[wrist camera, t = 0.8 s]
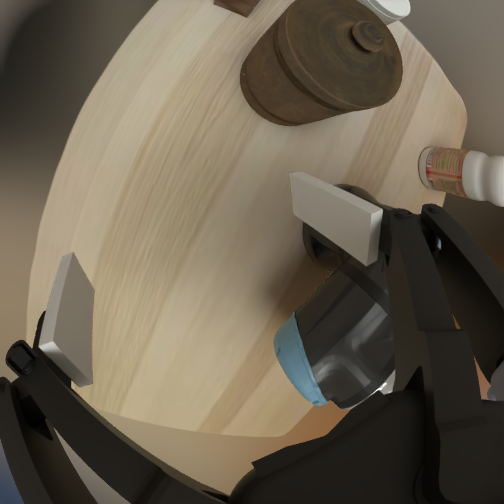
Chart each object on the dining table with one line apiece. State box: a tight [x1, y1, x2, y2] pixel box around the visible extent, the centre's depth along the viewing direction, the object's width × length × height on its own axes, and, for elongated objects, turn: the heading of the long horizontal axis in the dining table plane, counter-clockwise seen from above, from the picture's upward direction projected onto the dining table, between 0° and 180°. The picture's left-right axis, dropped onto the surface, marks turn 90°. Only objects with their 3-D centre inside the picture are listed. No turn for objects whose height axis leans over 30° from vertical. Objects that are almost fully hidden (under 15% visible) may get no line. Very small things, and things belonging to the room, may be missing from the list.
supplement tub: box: [357, 0, 410, 25], centre depth 26 cm, size 10×10×15 cm
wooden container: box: [240, 0, 403, 126], centre depth 26 cm, size 15×15×22 cm
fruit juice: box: [419, 147, 504, 207], centre depth 35 cm, size 9×9×28 cm
